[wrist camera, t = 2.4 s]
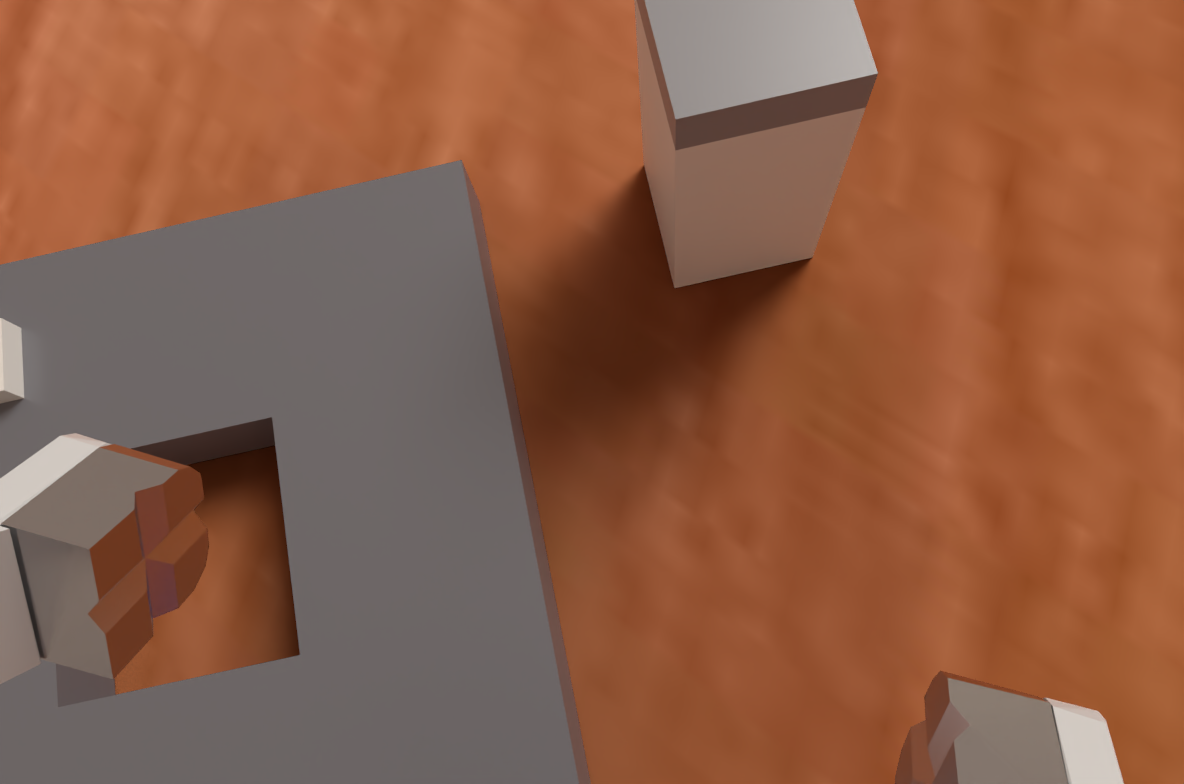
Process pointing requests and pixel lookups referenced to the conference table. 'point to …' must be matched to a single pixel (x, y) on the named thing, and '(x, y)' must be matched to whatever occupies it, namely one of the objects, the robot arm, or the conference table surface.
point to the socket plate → (310, 491)
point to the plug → (747, 125)
